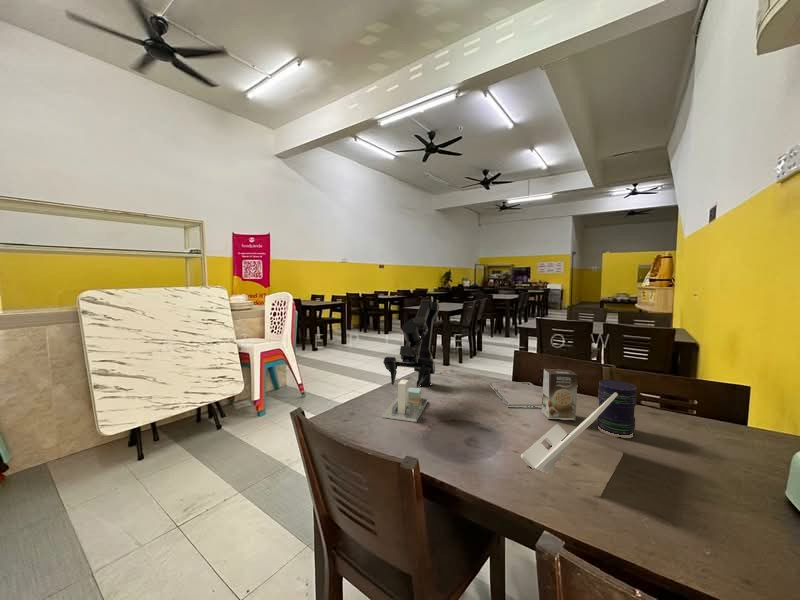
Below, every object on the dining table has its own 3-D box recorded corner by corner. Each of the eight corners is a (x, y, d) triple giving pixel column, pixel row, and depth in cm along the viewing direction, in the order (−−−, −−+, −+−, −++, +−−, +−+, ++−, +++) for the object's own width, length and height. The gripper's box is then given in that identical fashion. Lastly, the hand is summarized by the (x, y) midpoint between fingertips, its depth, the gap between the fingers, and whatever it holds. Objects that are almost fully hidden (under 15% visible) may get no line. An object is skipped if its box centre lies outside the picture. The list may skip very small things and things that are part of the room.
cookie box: (547, 420, 107) (549, 373, 106) (541, 412, 114) (542, 368, 113) (576, 421, 106) (578, 374, 105) (568, 413, 113) (569, 369, 112)
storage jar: (597, 434, 98) (599, 386, 97) (595, 421, 106) (597, 378, 105) (637, 442, 93) (640, 392, 92) (631, 428, 102) (633, 382, 101)
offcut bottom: (404, 396, 126) (404, 391, 126) (421, 398, 124) (421, 393, 124) (400, 401, 121) (400, 396, 121) (418, 403, 119) (418, 398, 119)
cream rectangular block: (401, 408, 114) (401, 379, 114) (408, 409, 114) (408, 380, 113) (397, 413, 110) (398, 383, 109) (404, 414, 109) (404, 384, 109)
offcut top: (404, 391, 126) (404, 386, 125) (421, 393, 124) (421, 388, 123) (400, 396, 121) (400, 390, 121) (418, 398, 119) (418, 392, 119)
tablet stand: (624, 455, 86) (627, 393, 85) (600, 499, 69) (604, 423, 68) (554, 432, 99) (556, 378, 98) (519, 464, 82) (521, 400, 81)
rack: (398, 398, 127) (398, 390, 127) (427, 401, 124) (428, 393, 123) (382, 417, 109) (382, 408, 109) (416, 422, 105) (416, 413, 105)
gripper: (385, 335, 120) (374, 372, 110) (434, 338, 114) (427, 377, 104) (391, 351, 128) (382, 387, 118) (437, 355, 122) (431, 392, 112)
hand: (404, 385), depth 113 cm, fingers open, 9 cm apart
